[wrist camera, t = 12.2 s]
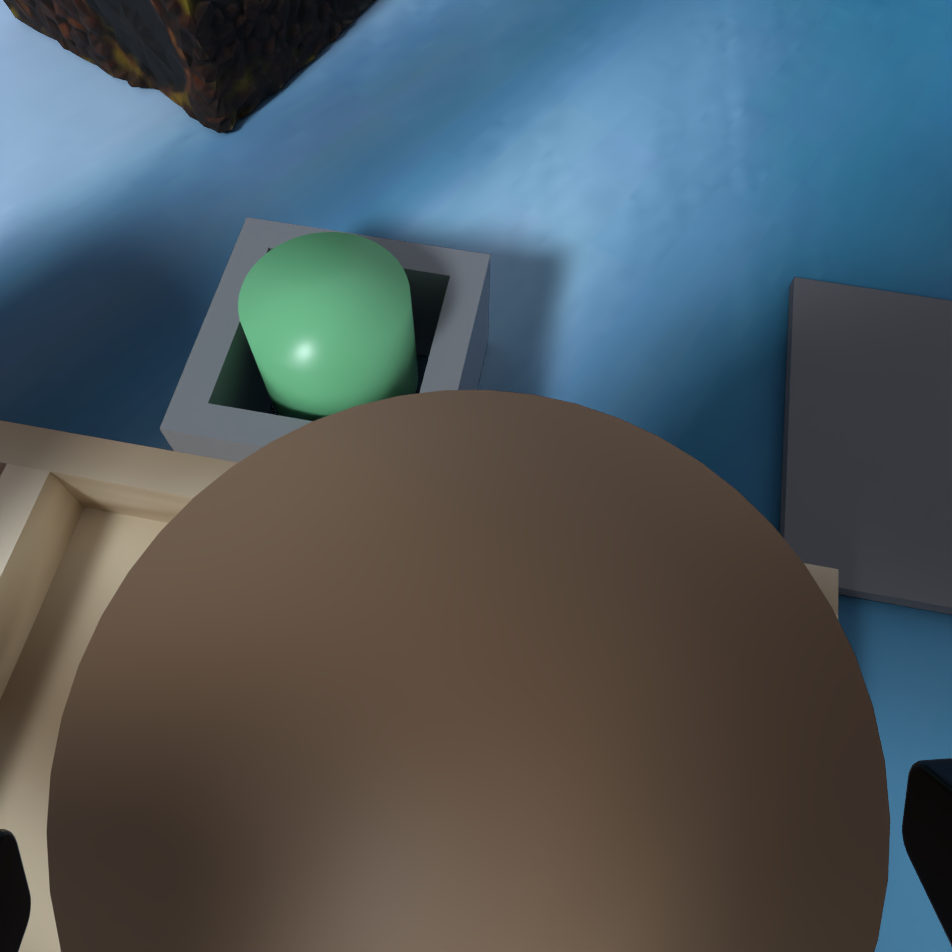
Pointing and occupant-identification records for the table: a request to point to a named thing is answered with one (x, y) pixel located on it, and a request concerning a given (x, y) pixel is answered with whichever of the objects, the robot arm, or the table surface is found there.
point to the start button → (329, 324)
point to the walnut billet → (468, 707)
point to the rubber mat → (870, 441)
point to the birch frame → (78, 599)
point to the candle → (195, 45)
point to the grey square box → (238, 377)
